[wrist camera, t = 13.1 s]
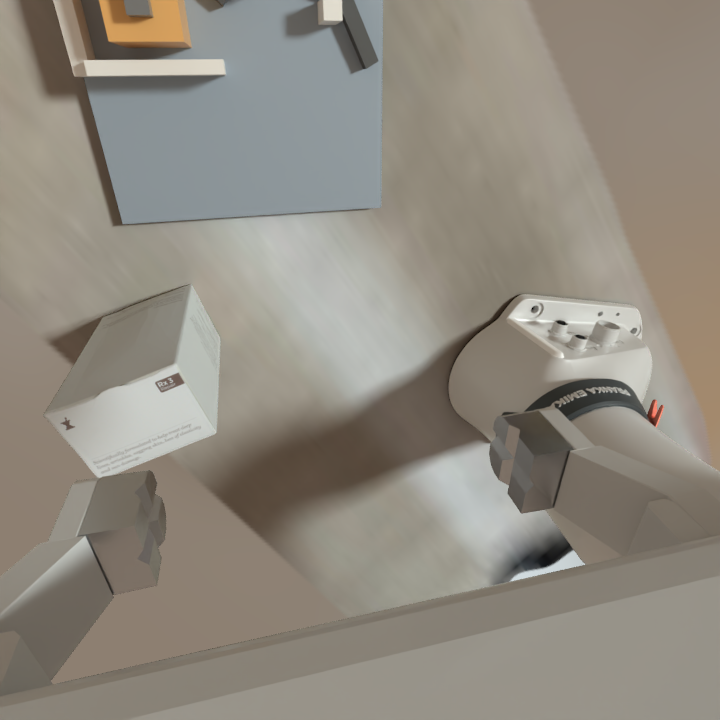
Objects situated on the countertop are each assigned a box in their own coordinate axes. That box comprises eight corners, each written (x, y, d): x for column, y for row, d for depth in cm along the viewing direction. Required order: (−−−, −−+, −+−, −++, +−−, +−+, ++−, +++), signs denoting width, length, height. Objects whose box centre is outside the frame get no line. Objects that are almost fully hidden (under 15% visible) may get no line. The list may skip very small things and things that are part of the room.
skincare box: (138, 369, 42) (95, 488, 30) (99, 312, 39) (32, 419, 26) (226, 336, 42) (220, 440, 30) (194, 277, 39) (173, 366, 27)
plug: (179, -31, 29) (166, -56, 24) (191, 47, 31) (182, 40, 26) (109, -33, 28) (80, -59, 23) (127, 47, 30) (104, 39, 25)
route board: (379, -81, 30) (397, -102, 27) (378, 204, 40) (391, 216, 36) (41, -97, 27) (13, -123, 24) (125, 221, 36) (113, 234, 33)
